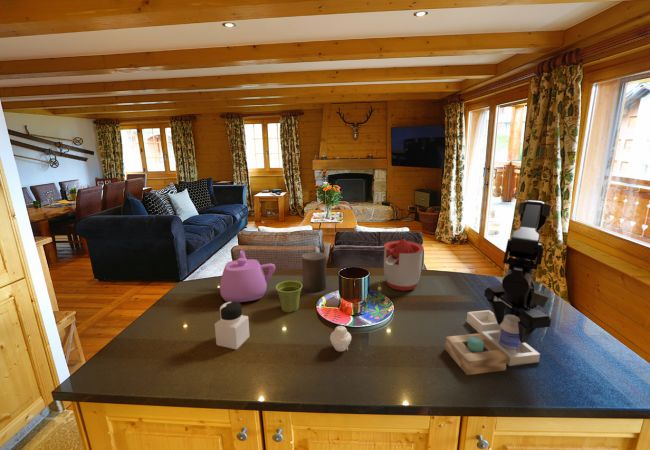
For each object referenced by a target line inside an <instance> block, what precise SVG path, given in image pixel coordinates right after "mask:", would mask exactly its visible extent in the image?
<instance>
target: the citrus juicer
mask: <svg viewBox="0 0 650 450" xmlns="http://www.w3.org/2000/svg"><path fill="white" fill-rule="evenodd" d="M383 248H384V249H383V251H384V252H383V274H384V278H385V282H386V284H387V286H388V287H389V288H391V289H394V290H397V291H402V292H406V291H411V290H414V289H415V288H416V287H417V286H418V283H419V280H420V277H421V274H422V273H421V272H422V266H423V253H424V252H423V251H424V246H423V245H422V244H420V243H417V242H415V241H408V240H407V239H404V238H403V239H401V240H393V241H387V242H386V243H384V245H383Z"/></svg>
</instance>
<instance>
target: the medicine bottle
mask: <svg viewBox="0 0 650 450" xmlns="http://www.w3.org/2000/svg"><path fill="white" fill-rule="evenodd" d="M242 309H243V308H242V304H241V302H227V301H226V302H225V303H223V304H222V305H220V307H219V313H220V319H219V320H217V322H215V323H214V330H215V331H214V332H215V341H216V342H215V343H216V346H219V347H224V348H227V349H233V350H238V349H239V348H240V347H241V346H242V345H243V344H244V343H245V342H246V341H247V340H248V339H249V338H250V322H249V316H248V315H243V312H242V311H243V310H242Z"/></svg>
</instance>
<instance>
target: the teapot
mask: <svg viewBox="0 0 650 450" xmlns="http://www.w3.org/2000/svg"><path fill="white" fill-rule="evenodd" d="M223 268H224V269H223V271H222V274H221V278H220V284H219V285H220V286H219V293H220V296H221V298H222V299H223V300H224V302H226V303H227V302H238V303H242V302H243V303H245V302H251V301H256V300H259V299H262V298H263V297H264V296H265V294H266V292H267V288H268V287H267V286H268V285H267V283H268V282H269V280H270V279H271V277H272V276H273V275H274V273H275V270H276V265H275V264H274V263H264V264H260V262H259V260H257V259H253V258H252V259H249V258H248V259H247V257H246V253H245V250H243V249H241V250H240V251H239V257H238V258H237V259H236V260H230V261H228V262H227V263H225V266H224V267H223ZM263 269H269V270H268V273H267V275H265V272H264V270H263Z"/></svg>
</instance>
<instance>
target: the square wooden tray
mask: <svg viewBox="0 0 650 450" xmlns="http://www.w3.org/2000/svg"><path fill="white" fill-rule="evenodd" d="M469 337H477V338H480V339H482V340H483V341H484V348H483V352H476V353H472V352H471V351H470V350H469V349H468V348H467V343H468V338H469ZM444 350H445V351H446V353H448V354H449V356H450V357H451V358H452V359H453V361H454V362H455V363H456V364H457V365H458V367H460V368H461V370H462V371H463V372H464V374H465V375H466V376H471V375H479V374H484V373H485V374H486V373H493V372H502V371H506V370H507V365H508V364H507V356H506V355H505V354H504V353H503V352H502V351H501V350H500V349H498V348H497V347H496V346H495V345H494V344H493V343H492V342H491V341H490V340H488V339H487V338H486V337H485V336H484V335H483V334H482V333H478V332H477V333H470V334H460V335H459V334H457V335H449V336H446V337H445V343H444Z"/></svg>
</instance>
